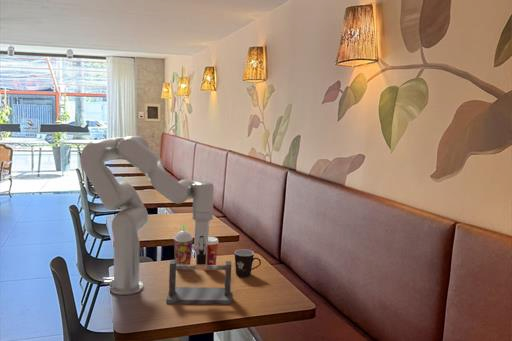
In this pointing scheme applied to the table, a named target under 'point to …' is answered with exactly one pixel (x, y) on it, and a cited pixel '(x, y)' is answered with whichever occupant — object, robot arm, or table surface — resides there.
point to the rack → (199, 293)
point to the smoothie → (183, 247)
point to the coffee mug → (244, 262)
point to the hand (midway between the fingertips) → (201, 260)
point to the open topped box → (201, 267)
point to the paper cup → (212, 251)
